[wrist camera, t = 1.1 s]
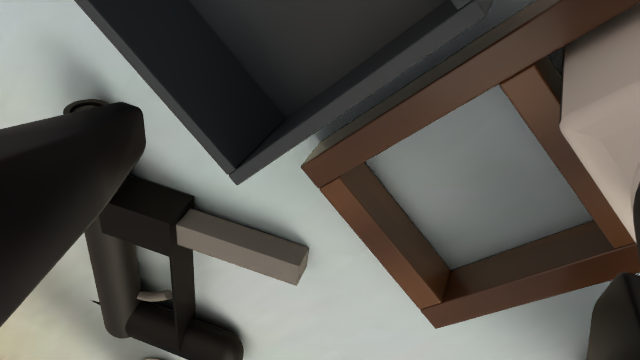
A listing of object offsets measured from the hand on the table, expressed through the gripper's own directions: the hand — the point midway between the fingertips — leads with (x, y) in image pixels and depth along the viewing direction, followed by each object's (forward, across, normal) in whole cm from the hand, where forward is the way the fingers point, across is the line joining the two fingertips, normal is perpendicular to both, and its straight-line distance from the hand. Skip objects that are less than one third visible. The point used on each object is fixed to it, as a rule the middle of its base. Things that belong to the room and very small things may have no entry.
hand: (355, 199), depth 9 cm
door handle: (+14, +12, +21) cm, 27 cm away
